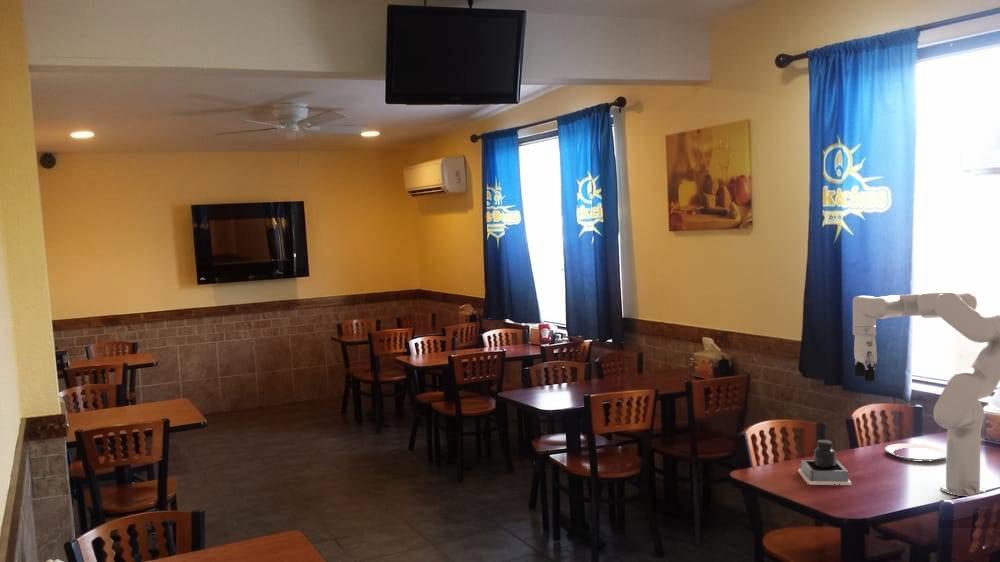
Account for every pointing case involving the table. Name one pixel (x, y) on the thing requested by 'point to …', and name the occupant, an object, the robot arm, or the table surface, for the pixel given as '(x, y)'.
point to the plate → (899, 446)
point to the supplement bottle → (824, 456)
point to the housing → (824, 474)
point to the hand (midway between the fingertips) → (864, 378)
